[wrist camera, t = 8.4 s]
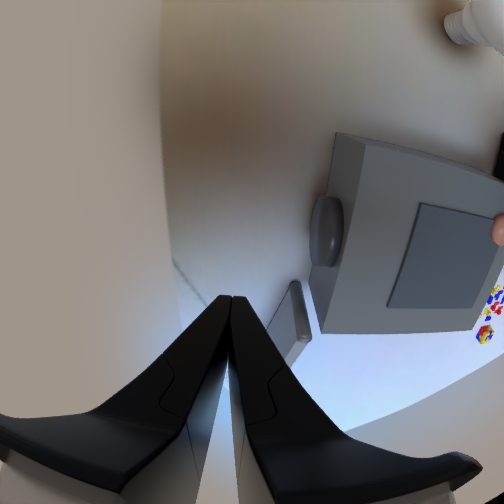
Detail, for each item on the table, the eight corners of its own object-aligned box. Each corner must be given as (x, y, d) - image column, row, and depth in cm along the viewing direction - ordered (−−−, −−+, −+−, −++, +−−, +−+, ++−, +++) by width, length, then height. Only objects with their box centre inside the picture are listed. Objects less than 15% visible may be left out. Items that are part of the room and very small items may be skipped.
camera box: (481, 170, 19) (534, 197, 13) (442, 290, 25) (475, 336, 19) (321, 130, 19) (352, 142, 13) (296, 283, 24) (307, 342, 18)
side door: (246, 381, 30) (244, 429, 25) (233, 378, 30) (230, 426, 24) (303, 283, 24) (314, 334, 19) (287, 278, 24) (295, 329, 18)
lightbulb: (437, 71, 16) (546, 72, 6) (406, -4, 13) (498, -47, 3) (489, 64, 15) (587, 72, 5) (463, -4, 12) (553, -26, 2)
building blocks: (516, 279, 25) (524, 286, 23) (493, 331, 28) (499, 339, 27) (483, 283, 25) (491, 291, 23) (459, 338, 28) (465, 347, 27)
